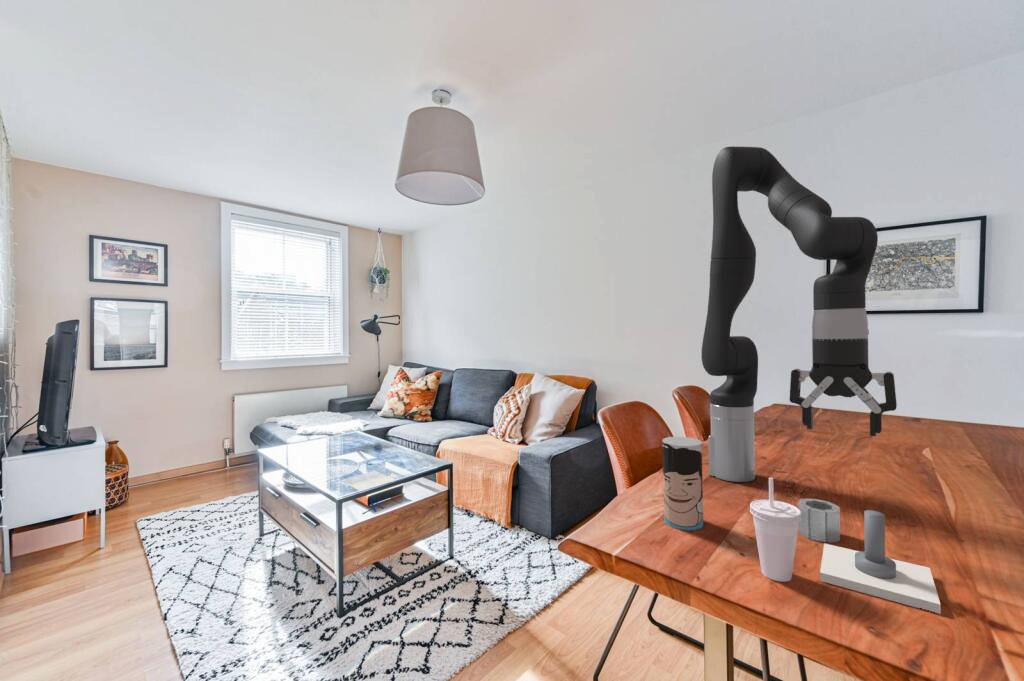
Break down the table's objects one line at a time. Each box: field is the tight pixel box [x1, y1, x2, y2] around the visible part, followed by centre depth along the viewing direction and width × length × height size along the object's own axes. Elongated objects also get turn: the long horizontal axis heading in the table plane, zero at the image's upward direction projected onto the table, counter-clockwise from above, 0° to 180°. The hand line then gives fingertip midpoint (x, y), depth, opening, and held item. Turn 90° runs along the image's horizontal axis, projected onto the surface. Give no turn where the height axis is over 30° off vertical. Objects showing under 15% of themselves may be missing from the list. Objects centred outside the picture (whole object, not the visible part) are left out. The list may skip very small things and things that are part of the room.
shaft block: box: [819, 509, 942, 615], centre depth 60 cm, size 12×10×9 cm
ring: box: [797, 498, 841, 544], centre depth 73 cm, size 6×6×5 cm
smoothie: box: [749, 477, 802, 583], centre depth 62 cm, size 6×6×14 cm
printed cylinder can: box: [662, 436, 704, 531], centre depth 79 cm, size 7×7×15 cm
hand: (840, 431), depth 73 cm, fingers open, 8 cm apart
